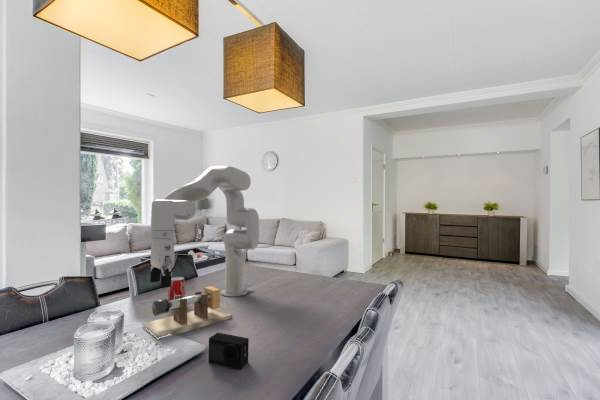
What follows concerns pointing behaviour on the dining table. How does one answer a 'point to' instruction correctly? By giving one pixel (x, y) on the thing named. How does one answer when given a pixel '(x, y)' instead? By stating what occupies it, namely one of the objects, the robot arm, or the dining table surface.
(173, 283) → the soda can
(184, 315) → the rig
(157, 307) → the shaft
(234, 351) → the digital camera
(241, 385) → the dining table surface
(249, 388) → the dining table surface
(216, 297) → the block
